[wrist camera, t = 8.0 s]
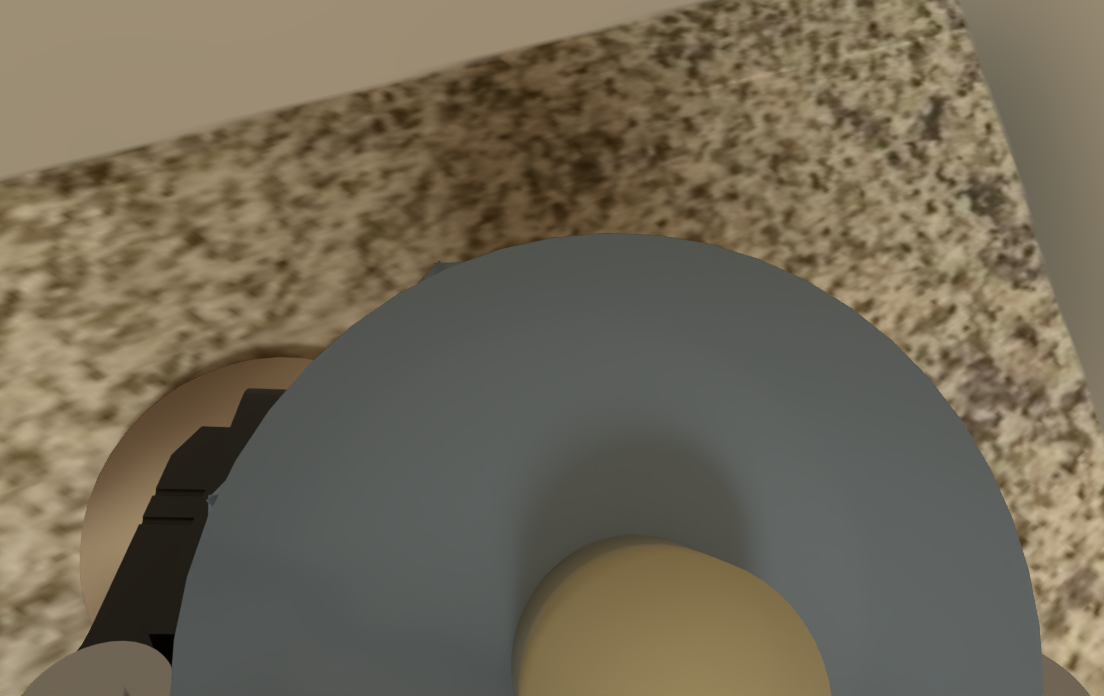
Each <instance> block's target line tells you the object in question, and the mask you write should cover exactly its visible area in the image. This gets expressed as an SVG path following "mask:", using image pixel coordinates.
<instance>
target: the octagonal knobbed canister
mask: <svg viewBox="0 0 1104 696" xmlns="http://www.w3.org/2000/svg"><path fill="white" fill-rule="evenodd" d="M434 264H435V266H434V267H433V268H432V269H431V270H430V271H429V272H428V273H427V274H426V275H425V276H424V277H423V278H422V279H421V280H420V281H419V282H418V283H417V284H416V285H414V286H412V287H410V288H408V289H407V290H405V291H403V292H401V293H399V294H397V295H396V296H394V297H393V298H392V299H390V300H389V301H387V302H386V303H384V304H383V305H381V306H380V307H378V308H377V309H376V310H374V311H373V312H371V313H370V314H368V315H367V316H365V317H364V318H362V319H361V320H360V321H358V322H357V323H355V324H354V325H352V326H351V327H350V328H349V329H348V330H347V331H346V332H344V333H343V334H342V335H341V336H340V337H339V338H338V339H337V340H335V341H334V342H333V343H332V344H331V345H330V346H329V347H328V348H327V349H325V350H324V351H323V352H322V353H321V354H320V355H319V356H318V357H317V358H315V359H314V360H313V361H312V362H311V363H310V364H309V365H308V366H307V367H306V368H305V369H304V370H303V372H302V373H301V374H300V375H299V376H298V377H297V379H296V380H295V381H294V382H293V383H292V384H291V385H290V387H289V388H288V389H287V390H286V391H285V392H284V394H283V395H282V396H281V397H280V398H279V399H278V401H277V402H276V403H275V404H274V405H273V406H272V407H271V409H270V410H269V411H268V413H267V414H266V416H265V417H264V419H263V420H262V422H261V423H260V425H259V426H258V428H257V429H256V431H255V432H254V434H253V435H252V437H251V438H250V440H249V441H248V443H247V444H246V446H245V447H244V449H243V450H242V452H241V453H240V455H239V456H238V458H237V459H236V461H235V463H234V465H233V467H232V469H231V471H230V473H229V475H228V477H227V479H226V481H225V482H224V483H223V484H222V485H221V486H220V487H219V488H218V489H217V490H216V491H215V492H214V493H213V494H212V495H208V499H207V500H206V501H207V502H208V518H207V521H206V524H205V526H204V529H203V532H202V535H201V538H200V541H199V544H198V547H197V550H196V553H195V555H194V558H193V561H192V564H191V567H190V570H189V573H188V576H187V580H186V585H185V589H184V594H183V599H182V604H181V609H180V614H179V618H178V623H177V628H176V633H175V638H174V647H173V660H172V674H171V687H170V696H1043V688H1044V678H1043V665H1042V653H1041V640H1040V627H1039V620H1038V615H1037V610H1036V605H1035V600H1034V595H1033V590H1032V584H1031V579H1030V574H1029V569H1028V566H1027V563H1026V560H1025V557H1024V553H1023V550H1022V547H1021V544H1020V541H1019V538H1018V535H1017V531H1016V528H1015V525H1014V522H1013V519H1012V516H1011V514H1010V512H1009V509H1008V507H1007V505H1006V503H1005V500H1004V498H1003V496H1002V494H1001V491H1000V489H999V487H998V485H997V483H996V480H995V478H994V476H993V474H992V471H991V469H990V467H989V465H988V464H987V462H986V460H985V459H984V457H983V455H982V454H981V452H980V450H979V449H978V447H977V445H976V444H975V442H974V440H973V439H972V437H971V435H970V434H969V432H968V430H967V428H966V427H965V425H964V423H963V422H962V420H961V419H960V418H959V416H958V415H957V414H956V412H955V411H954V410H953V409H952V407H951V406H950V405H949V403H948V402H947V401H946V399H945V398H944V397H943V396H942V394H941V393H940V392H939V390H938V389H937V388H936V386H935V385H934V384H933V383H932V381H931V380H930V379H929V378H928V377H927V376H926V375H925V374H924V373H923V372H922V370H921V369H920V368H919V367H918V366H917V365H916V364H915V363H914V362H913V361H912V360H911V359H910V358H909V357H908V356H907V355H906V354H905V353H904V352H903V351H902V350H901V349H900V348H899V347H898V346H897V345H896V344H895V343H894V342H893V341H892V340H891V339H889V338H888V337H887V336H886V335H884V334H883V333H882V332H881V331H879V330H878V329H877V328H876V327H874V326H873V325H872V324H871V323H869V322H868V321H867V320H866V319H864V318H863V317H862V316H861V315H859V314H858V313H857V312H856V311H854V310H853V309H852V308H850V307H849V306H847V305H846V304H844V303H842V302H841V301H839V300H837V299H836V298H834V297H832V296H831V295H829V294H828V293H826V292H824V291H823V290H821V289H819V288H818V287H816V286H815V285H813V284H811V283H810V282H808V281H806V280H804V279H802V278H800V277H797V276H795V275H793V274H791V273H789V272H786V271H784V270H782V269H780V268H778V267H775V266H773V265H771V264H769V263H766V262H764V261H762V260H760V259H757V258H753V257H750V256H747V255H744V254H740V253H737V252H734V251H731V250H727V249H724V248H721V247H718V246H715V245H711V244H706V243H701V242H695V241H689V240H683V239H678V238H672V237H666V236H660V235H641V234H618V233H601V234H589V235H577V236H566V237H554V238H549V239H545V240H540V241H535V242H531V243H526V244H522V245H517V246H513V247H508V248H504V249H500V250H497V251H494V252H491V253H488V254H486V255H483V256H480V257H477V258H475V259H472V260H469V261H466V262H455V263H441V262H440V261H439V262H438V263H434Z"/></svg>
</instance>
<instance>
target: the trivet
mask: <svg viewBox="0 0 1104 696" xmlns="http://www.w3.org/2000/svg"><path fill="white" fill-rule="evenodd" d="M312 361H313V360H311V359H305V358H288V357H273V358H263V359H253V360H248V361H244V362H239V363H235V364H230V365H227V366H224V367H221V368H218V369H216V370H213V371H210V372H207V373H205V374H203V375H201V376H199V377H197V378H195V379H193V380H191V381H189V382H187V383H185V384H183V385H181V386H180V387H178V388H177V389H175V390H174V391H172V392H171V393H169V394H168V395H166V396H165V397H163V398H162V399H160V400H159V401H158V402H157V403H156V404H155V405H153V406H152V407H151V408H150V409H149V410H147V411H146V412H145V413H144V414H143V415H142V416H141V417H140V418H139V419H138V420H137V421H136V422H135V423H134V425H133V426H132V427H131V428H130V429H129V430H128V431H127V432H126V433H125V434H124V436H123V437H122V439H121V440H120V441H119V443H118V444H117V446H116V447H115V448H114V450H113V451H112V453H111V454H110V456H109V458H108V459H107V461H106V463H105V465H104V467H103V469H102V471H101V472H100V474H99V476H98V478H97V481H96V483H95V486H94V489H93V491H92V494H91V496H90V499H89V502H88V506H87V510H86V514H85V518H84V522H83V526H82V535H81V545H80V578H81V584H82V590H83V596H84V602H85V605H86V609H87V612H88V615H89V618H90V621H91V624H93V622H94V620H95V618H96V616H97V614H98V611H99V609H100V607H101V605H102V603H103V601H104V598H105V596H106V594H107V592H108V590H109V588H110V586H111V583H112V581H113V579H114V577H115V575H116V573H117V570H118V568H119V566H120V564H121V562H122V560H123V558H124V555H125V553H126V551H127V549H128V547H129V545H130V543H131V540H132V538H133V536H134V534H135V532H136V530H137V527H138V525H139V524H142V521H143V515H144V512H145V510H146V508H147V506H148V504H149V502H150V499H151V497H152V495H155V493H156V487H157V484H158V482H159V480H160V478H161V476H162V474H163V471H164V469H165V467H166V465H167V463H168V461H169V459H170V456H171V455H172V454H173V453H174V452H175V451H176V450H177V449H178V448H179V447H180V446H181V445H182V444H183V443H184V442H185V441H187V440H188V439H189V438H190V437H191V436H192V435H193V434H194V433H195V432H196V431H197V430H198V429H199V428H200V427H202V426H210V427H230V426H231V424H232V421H233V418H234V416H235V413H236V411H237V408H238V406H239V403H240V401H241V398H242V396H243V394H244V392H245V391H246V390H247V389H248V388H261V389H288V388H289V387H290V385H291V384H292V383H293V382H294V381H295V380H296V379H297V377H298V376H299V375H300V374H301V373H302V372H303V370H304V369H305V368H306V367H307V366H308V365H309V364H310V363H311V362H312Z"/></svg>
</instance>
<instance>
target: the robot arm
mask: <svg viewBox="0 0 1104 696" xmlns="http://www.w3.org/2000/svg"><path fill="white" fill-rule="evenodd" d="M286 390H287V389H261V388H248V389H247V390H246V391H245V392H244V394H243V396H242V398H241V401H240V403H239V406H238V408H237V411H236V413H235V416H234V418H233V421H232V424H231V426H230V427H210V426H202V427H200V428H199V429H198V430H197V431H196V432H195V433H194V434H193V435H192V436H191V437H190V438H189V439H188V440H187V441H185V442H184V443H183V444H182V445H181V446H180V447H179V448H178V449H177V450H176V451H175V452H174V453H173V454H172V455H171V456H170V459H169V461H168V463H167V465H166V467H165V469H164V471H163V474H162V476H161V478H160V480H159V482H158V484H157V487H156V493H155V495H152V497H151V499H150V502H149V504H148V506H147V508H146V510H145V512H144V515H143V521H142V524H139V525H138V527H137V530H136V532H135V534H134V536H133V538H132V540H131V543H130V545H129V547H128V549H127V551H126V553H125V555H124V558H123V560H122V562H121V564H120V566H119V568H118V570H117V573H116V575H115V577H114V579H113V581H112V583H111V586H110V588H109V590H108V592H107V594H106V596H105V598H104V601H103V603H102V605H101V607H100V609H99V611H98V614H97V616H96V618H95V620H94V622H93V624H92V626H91V629H90V631H89V633H88V635H87V636H86V638H85V640H84V642H83V644H82V645H81V646H80V648H79V649H78V650H77V652H74V653H72V654H70V655H68V656H66V657H65V658H63V659H61V660H60V661H58V662H56V663H55V664H53V665H52V666H51V667H49V668H48V669H47V670H46V671H44V672H43V673H42V674H41V675H40V676H39V677H38V678H36V679H35V680H34V681H33V682H32V683H31V684H30V686H29V687H28V688H27V689H26V690H25V692H24V693H23V694H22V695H21V696H170V687H171V674H172V660H173V647H174V638H175V633H176V628H177V623H178V618H179V614H180V609H181V604H182V599H183V594H184V589H185V585H186V580H187V576H188V573H189V570H190V567H191V564H192V561H193V558H194V555H195V553H196V550H197V547H198V544H199V541H200V538H201V535H202V532H203V529H204V526H205V524H206V521H207V518H208V502H207V501H206V500H207V499H208V495H212V494H213V493H214V492H215V491H216V490H217V489H218V488H219V487H220V486H221V485H222V484H223V483H224V482H225V481H226V479H227V477H228V475H229V473H230V471H231V469H232V467H233V465H234V463H235V461H236V459H237V458H238V456H239V455H240V453H241V452H242V450H243V449H244V447H245V446H246V444H247V443H248V441H249V440H250V438H251V437H252V435H253V434H254V432H255V431H256V429H257V428H258V426H259V425H260V423H261V422H262V420H263V419H264V417H265V416H266V414H267V413H268V411H269V410H270V409H271V407H272V406H273V405H274V404H275V403H276V402H277V401H278V399H279V398H280V397H281V396H282V395H283V394H284V392H285V391H286ZM1042 665H1043V678H1044V688H1043V696H1090V695H1089V693H1088V692H1087V691H1086V689H1085V688H1084V687H1083V686H1082V685H1081V684H1080V683H1079V682H1078V681H1077V680H1076V679H1075V678H1074V677H1073V676H1072V675H1071V674H1070V673H1069V672H1068V671H1067V670H1065V669H1064V668H1063V667H1061V666H1060V665H1059V664H1057V663H1056V662H1054V661H1053V660H1051V659H1050V658H1048V657H1046V656H1045V655H1043V654H1042Z"/></svg>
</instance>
